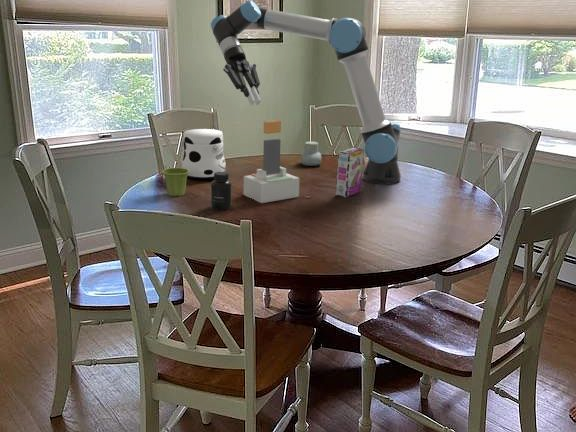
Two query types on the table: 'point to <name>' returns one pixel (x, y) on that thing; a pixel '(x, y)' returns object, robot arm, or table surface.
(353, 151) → the candy bar box
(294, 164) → the table surface
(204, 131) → the white black spotted container
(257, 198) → the switch box
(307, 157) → the air freshener
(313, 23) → the robot arm
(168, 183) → the plant pot
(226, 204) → the supplement bottle
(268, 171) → the switch lever
